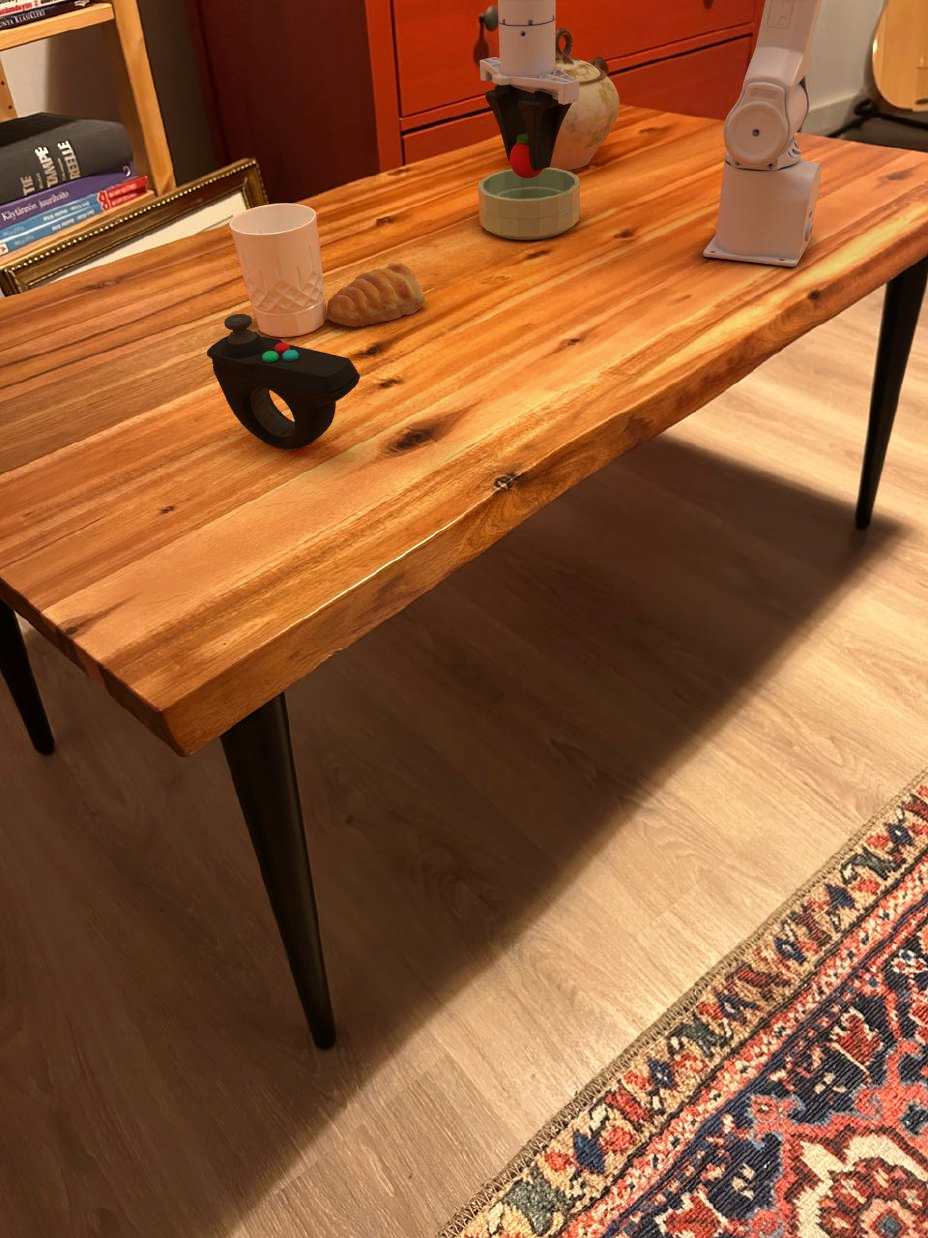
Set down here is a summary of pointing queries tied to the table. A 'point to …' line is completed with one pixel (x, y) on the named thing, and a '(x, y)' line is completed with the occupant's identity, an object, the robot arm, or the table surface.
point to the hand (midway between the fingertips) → (528, 163)
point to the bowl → (529, 204)
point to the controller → (279, 384)
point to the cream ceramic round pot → (584, 108)
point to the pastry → (377, 297)
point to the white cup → (281, 267)
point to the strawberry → (522, 158)
